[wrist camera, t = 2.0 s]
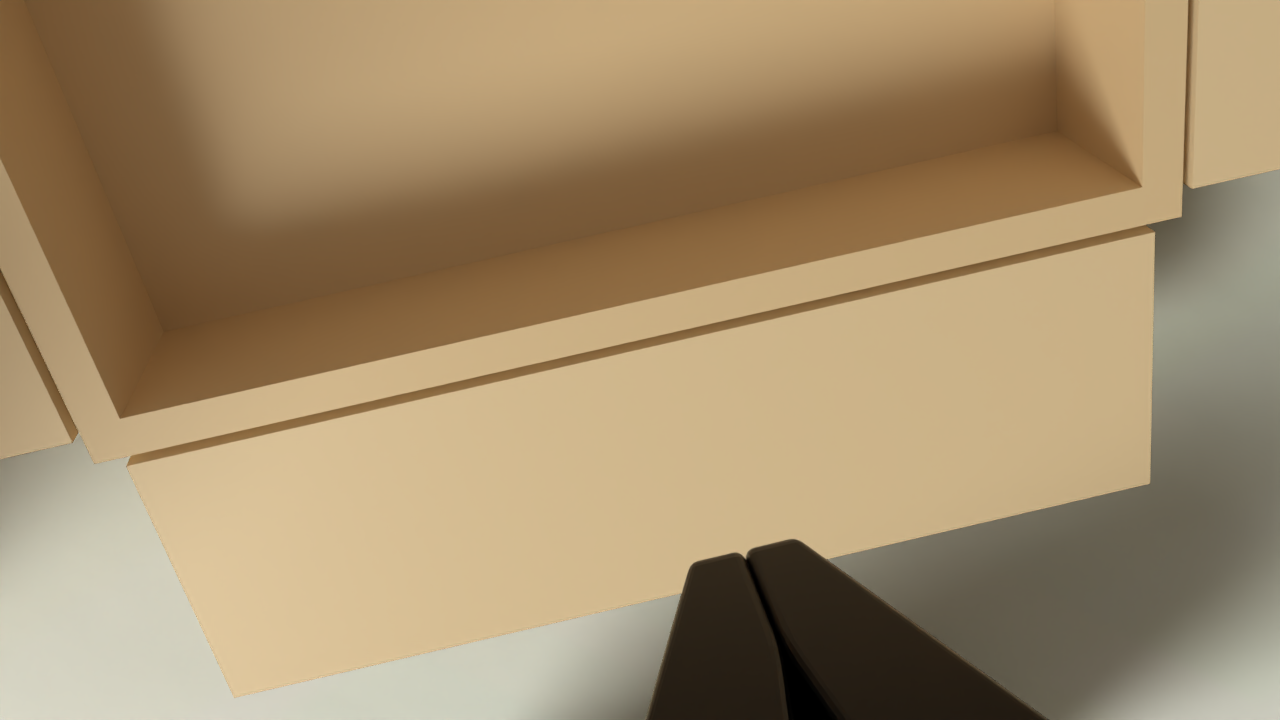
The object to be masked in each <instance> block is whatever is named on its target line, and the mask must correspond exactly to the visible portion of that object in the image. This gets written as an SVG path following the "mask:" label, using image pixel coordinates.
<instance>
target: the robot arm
mask: <svg viewBox="0 0 1280 720" xmlns="http://www.w3.org/2000/svg"><path fill="white" fill-rule="evenodd" d="M645 720H1049V719H1047V718H1046V717H1045V716H1043V715H1042V714H1040V713H1039V712H1038V711H1036V710H1035V709H1034V708H1032V707H1031V706H1029V705H1028V704H1027V703H1025V702H1024V701H1022V700H1021V699H1020V698H1018V697H1017V696H1015V695H1014V694H1013V693H1011V692H1010V691H1009V690H1007V689H1006V688H1004V687H1003V686H1002V685H1000V684H999V683H997V682H996V681H995V680H993V679H992V678H990V677H989V676H988V675H986V674H985V673H984V672H982V671H981V670H979V669H978V668H977V667H975V666H974V665H972V664H971V663H970V662H968V661H967V660H965V659H964V658H963V657H961V656H960V655H959V654H957V653H956V652H954V651H953V650H952V649H950V648H949V647H947V646H946V645H945V644H943V643H942V642H940V641H939V640H938V639H936V638H935V637H934V636H932V635H931V634H929V633H928V632H927V631H925V630H924V629H922V628H921V627H920V626H918V625H917V624H915V623H914V622H913V621H911V620H910V619H909V618H907V617H906V616H904V615H903V614H902V613H900V612H899V611H897V610H896V609H895V608H893V607H892V606H890V605H889V604H888V603H886V602H885V601H884V600H882V599H881V598H879V597H878V596H877V595H875V594H874V593H872V592H871V591H870V590H868V589H867V588H865V587H864V586H863V585H861V584H860V583H859V582H857V581H856V580H854V579H853V578H852V577H850V576H849V575H847V574H846V573H845V572H843V571H842V570H841V569H839V568H838V567H836V566H835V565H834V564H832V563H831V562H829V561H828V560H827V559H825V558H824V557H822V556H821V555H820V554H818V553H817V552H816V551H814V550H813V549H811V548H810V547H809V546H807V545H806V544H804V543H803V542H801V541H800V540H796V539H788V540H784V541H779V542H775V543H771V544H767V545H763V546H758V547H754V548H752V549H750V550H749V551H748V552H747V554H746V559H745V557H744V556H743V555H742V554H740V553H737V552H734V553H729V554H725V555H721V556H716V557H712V558H708V559H704V560H700V561H696V562H694V563H693V564H692V565H691V566H690V568H689V570H688V573H687V576H686V580H685V583H684V587H683V590H682V594H681V597H680V600H679V604H678V607H677V611H676V614H675V618H674V621H673V625H672V628H671V632H670V635H669V639H668V642H667V646H666V649H665V653H664V656H663V660H662V663H661V667H660V670H659V674H658V677H657V680H656V684H655V687H654V691H653V694H652V698H651V701H650V705H649V708H648V712H647V715H646V719H645Z"/></svg>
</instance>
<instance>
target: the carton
mask: <svg viewBox="0 0 1280 720" xmlns="http://www.w3.org/2000/svg"><path fill="white" fill-rule="evenodd" d="M1278 169H1280V0H0V269H1V270H0V459H4V458H8V457H13V456H17V455H21V454H26V453H30V452H35V451H39V450H43V449H48V448H52V447H57V446H61V445H65V444H70V443H73V441H74V439H75V437H76V436H77V434H78V431H79V433H80V435H81V437H82V439H83V441H84V444H85V446H86V448H87V450H88V452H89V454H90V456H91V458H92V460H93V462H94V464H97V463H101V462H105V461H110V460H114V459H119V458H123V457H127V456H131V457H130V459H129V462H128V464H127V466H126V467H127V469H128V471H129V473H130V475H131V478H132V480H133V482H134V484H135V486H136V488H137V490H138V493H139V495H140V497H141V499H142V501H143V503H144V505H145V508H146V510H147V512H148V514H149V516H150V518H151V520H152V523H153V525H154V527H155V529H156V531H157V533H158V535H159V538H160V540H161V542H162V544H163V546H164V548H165V550H166V553H167V555H168V557H169V559H170V561H171V563H172V565H173V568H174V570H175V572H176V574H177V576H178V578H179V581H180V583H181V585H182V587H183V589H184V591H185V593H186V596H187V598H188V600H189V602H190V604H191V606H192V608H193V611H194V613H195V615H196V617H197V619H198V621H199V623H200V626H201V628H202V630H203V632H204V634H205V636H206V638H207V641H208V643H209V645H210V647H211V649H212V651H213V653H214V656H215V658H216V660H217V662H218V664H219V666H220V668H221V671H222V673H223V675H224V677H225V679H226V681H227V684H228V686H229V688H230V690H231V692H232V694H233V696H234V698H236V697H240V696H244V695H249V694H253V693H257V692H261V691H266V690H270V689H274V688H279V687H283V686H287V685H291V684H296V683H300V682H304V681H309V680H313V679H317V678H321V677H326V676H330V675H334V674H338V673H343V672H347V671H351V670H356V669H360V668H364V667H368V666H373V665H377V664H381V663H385V662H390V661H394V660H398V659H403V658H407V657H411V656H415V655H420V654H424V653H428V652H433V651H437V650H441V649H445V648H450V647H454V646H458V645H462V644H467V643H471V642H475V641H480V640H484V639H488V638H492V637H497V636H501V635H505V634H509V633H514V632H518V631H522V630H527V629H531V628H535V627H539V626H544V625H548V624H552V623H557V622H561V621H565V620H569V619H574V618H578V617H582V616H586V615H591V614H595V613H599V612H604V611H608V610H612V609H616V608H621V607H625V606H629V605H633V604H638V603H642V602H646V601H651V600H655V599H659V598H663V597H668V596H672V595H676V594H681V593H682V590H683V587H684V583H685V580H686V576H687V573H688V570H689V568H690V566H691V565H692V564H693V563H694V562H696V561H700V560H704V559H708V558H712V557H716V556H721V555H725V554H729V553H734V552H737V553H740V554H742V555H743V556H744V557H745V559H746V554H747V552H748V551H749V550H750V549H752V548H754V547H758V546H763V545H767V544H771V543H775V542H779V541H784V540H788V539H796V540H800V541H801V542H803V543H804V544H806V545H807V546H809V547H810V548H811V549H813V550H814V551H816V552H817V553H818V554H820V555H821V556H822V557H824V558H825V559H830V558H834V557H839V556H843V555H847V554H852V553H856V552H860V551H864V550H869V549H873V548H877V547H881V546H886V545H890V544H894V543H899V542H903V541H907V540H911V539H916V538H920V537H924V536H928V535H933V534H937V533H941V532H946V531H950V530H954V529H958V528H963V527H967V526H971V525H976V524H980V523H984V522H988V521H993V520H997V519H1001V518H1005V517H1010V516H1014V515H1018V514H1023V513H1027V512H1031V511H1035V510H1040V509H1044V508H1048V507H1052V506H1057V505H1061V504H1065V503H1070V502H1074V501H1078V500H1082V499H1087V498H1091V497H1095V496H1100V495H1104V494H1108V493H1112V492H1117V491H1121V490H1125V489H1129V488H1134V487H1138V486H1142V485H1147V484H1150V465H1151V413H1152V362H1153V310H1154V258H1155V232H1154V231H1153V230H1151V229H1150V228H1148V227H1147V226H1146V225H1147V224H1152V223H1156V222H1161V221H1165V220H1169V219H1174V218H1178V217H1182V190H1183V183H1184V184H1185V185H1187V186H1189V187H1190V188H1192V189H1194V188H1198V187H1203V186H1207V185H1212V184H1216V183H1220V182H1225V181H1229V180H1234V179H1238V178H1243V177H1247V176H1251V175H1256V174H1260V173H1265V172H1269V171H1273V170H1278ZM1 271H2V272H1ZM2 273H3V274H2ZM3 275H4V276H3ZM4 277H5V278H4ZM5 279H6V280H5ZM6 281H7V282H6ZM7 283H8V284H7ZM8 285H9V287H10V289H9V287H8ZM10 290H11V291H10ZM11 292H12V293H11ZM12 294H13V295H12ZM13 296H14V297H13ZM14 298H15V299H14ZM15 300H16V301H15ZM16 302H17V303H16ZM17 304H18V305H17ZM18 306H19V307H18ZM19 308H20V309H19ZM20 310H21V311H20ZM21 312H22V314H21ZM22 315H23V316H22ZM23 317H24V318H23ZM24 319H25V320H24ZM25 321H26V322H25ZM26 323H27V324H26ZM27 325H28V326H27ZM28 327H29V328H28ZM29 329H30V330H29ZM30 331H31V332H30ZM31 333H32V334H31ZM32 335H33V336H32ZM33 337H34V339H35V341H34V339H33ZM35 342H36V343H35ZM36 344H37V345H36ZM37 346H38V347H37ZM38 348H39V349H38ZM39 350H40V351H39ZM40 352H41V353H40ZM41 354H42V355H41ZM42 356H43V357H42ZM43 358H44V359H43ZM44 360H45V361H44ZM45 362H46V363H45ZM46 364H47V366H46ZM47 367H48V368H47ZM48 369H49V370H48ZM49 371H50V372H49ZM50 373H51V374H50ZM51 375H52V376H51ZM52 377H53V378H52ZM53 379H54V380H53ZM54 381H55V382H54ZM55 383H56V384H55ZM56 385H57V386H56ZM57 387H58V388H57ZM58 389H59V391H60V393H59V391H58ZM60 394H61V395H60ZM61 396H62V397H61ZM62 398H63V399H62ZM63 400H64V401H63ZM64 402H65V403H64ZM65 404H66V405H65ZM66 406H67V407H66ZM67 408H68V409H67ZM68 410H69V411H68ZM69 412H70V413H69ZM70 414H71V415H70ZM71 416H72V418H71ZM72 419H73V420H72ZM73 421H74V422H73ZM74 423H75V424H74ZM75 425H76V426H75ZM76 427H77V428H76ZM77 429H78V430H77Z"/></svg>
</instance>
